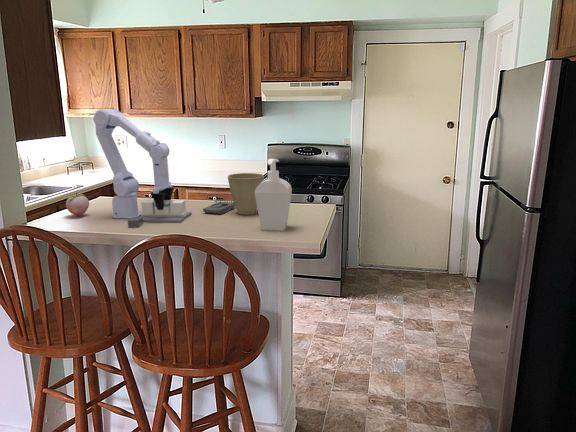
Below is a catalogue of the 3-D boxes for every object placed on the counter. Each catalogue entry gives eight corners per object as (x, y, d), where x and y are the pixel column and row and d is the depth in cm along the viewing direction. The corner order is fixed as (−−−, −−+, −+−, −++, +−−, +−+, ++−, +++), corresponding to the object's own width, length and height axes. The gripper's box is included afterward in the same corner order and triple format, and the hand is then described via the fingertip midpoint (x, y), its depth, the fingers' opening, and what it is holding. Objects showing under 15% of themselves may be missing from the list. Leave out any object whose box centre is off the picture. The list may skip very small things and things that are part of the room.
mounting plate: (136, 222, 189) (134, 204, 188) (150, 213, 203) (148, 197, 201) (180, 222, 187) (179, 205, 185) (191, 214, 201) (190, 198, 199)
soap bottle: (254, 231, 173) (252, 160, 167) (260, 224, 183) (258, 157, 176) (288, 232, 171) (287, 160, 165) (292, 225, 181) (291, 157, 174)
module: (155, 214, 192) (154, 202, 191) (159, 211, 197) (158, 200, 196) (168, 215, 192) (167, 202, 190) (172, 212, 197) (172, 200, 195)
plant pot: (248, 218, 192) (247, 179, 188) (222, 214, 200) (220, 176, 197) (271, 211, 203) (271, 174, 199) (245, 207, 212) (244, 171, 208)
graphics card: (215, 198, 217) (239, 199, 212) (216, 206, 218) (239, 208, 213) (195, 207, 202) (221, 208, 197) (196, 215, 202) (221, 217, 198)
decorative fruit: (76, 213, 206) (73, 190, 203) (93, 214, 204) (91, 191, 202) (62, 218, 197) (59, 194, 194) (80, 219, 195) (77, 195, 193)
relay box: (128, 228, 181) (127, 220, 181) (132, 224, 187) (132, 216, 186) (139, 228, 181) (138, 220, 181) (143, 224, 187) (142, 216, 186)
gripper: (164, 177, 183) (166, 211, 186) (177, 171, 197) (179, 203, 200) (146, 177, 184) (149, 211, 187) (160, 171, 198) (163, 203, 201)
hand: (163, 207), depth 194 cm, fingers open, 7 cm apart
